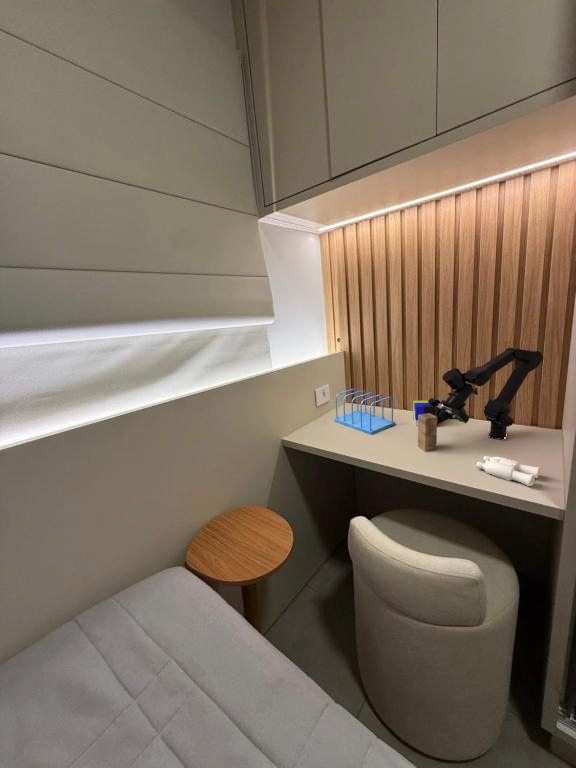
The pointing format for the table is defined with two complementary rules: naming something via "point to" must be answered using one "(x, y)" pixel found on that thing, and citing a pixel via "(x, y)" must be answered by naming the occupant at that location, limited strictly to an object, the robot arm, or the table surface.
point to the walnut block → (427, 432)
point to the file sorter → (364, 416)
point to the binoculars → (509, 469)
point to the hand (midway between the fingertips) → (433, 425)
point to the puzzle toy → (421, 410)
